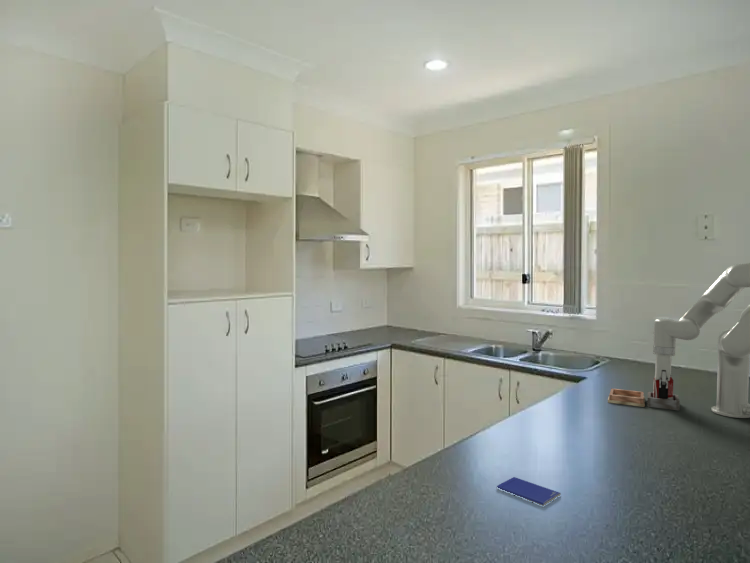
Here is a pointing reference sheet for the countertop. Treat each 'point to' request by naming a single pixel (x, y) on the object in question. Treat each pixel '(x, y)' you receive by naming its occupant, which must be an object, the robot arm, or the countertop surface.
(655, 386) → the soda can
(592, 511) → the countertop surface
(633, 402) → the dock
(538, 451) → the countertop surface
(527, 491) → the hard drive
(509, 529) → the countertop surface
